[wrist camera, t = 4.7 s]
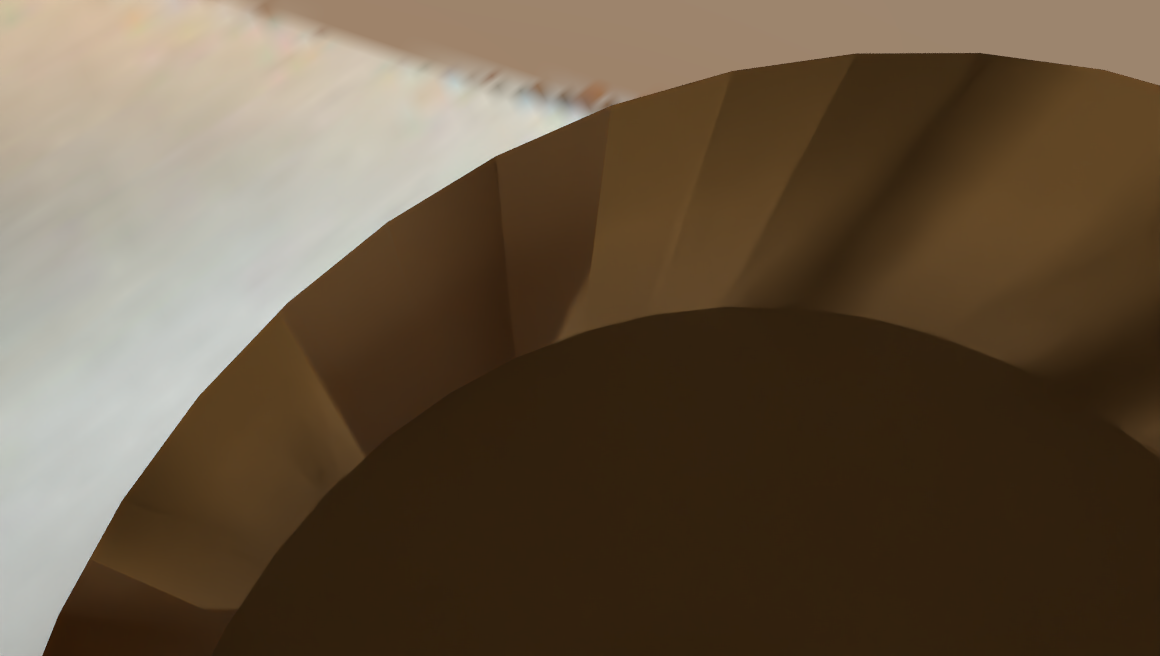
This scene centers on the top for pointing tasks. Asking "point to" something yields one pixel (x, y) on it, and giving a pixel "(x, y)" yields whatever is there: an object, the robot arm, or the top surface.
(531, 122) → the top surface
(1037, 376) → the fuse cartridge
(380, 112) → the top surface
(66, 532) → the top surface
